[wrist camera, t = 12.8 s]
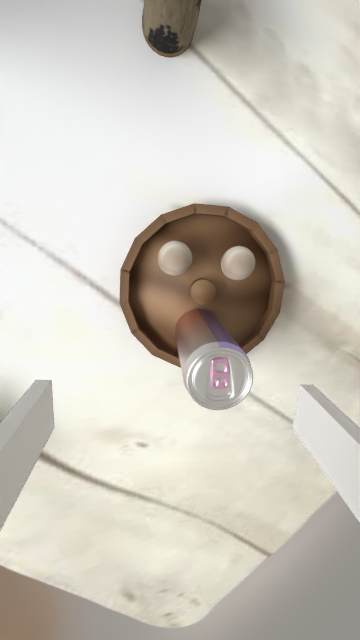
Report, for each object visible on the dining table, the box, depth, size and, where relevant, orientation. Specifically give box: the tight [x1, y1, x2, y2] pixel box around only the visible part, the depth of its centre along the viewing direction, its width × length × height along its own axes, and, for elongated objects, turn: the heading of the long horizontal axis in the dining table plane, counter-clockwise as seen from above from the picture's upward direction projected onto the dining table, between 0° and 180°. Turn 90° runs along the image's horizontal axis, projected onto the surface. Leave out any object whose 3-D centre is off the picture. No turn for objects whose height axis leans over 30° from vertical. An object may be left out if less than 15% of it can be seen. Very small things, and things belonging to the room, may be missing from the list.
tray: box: [120, 204, 285, 367], centre depth 38 cm, size 20×20×3 cm
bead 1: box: [158, 241, 192, 276], centre depth 35 cm, size 4×4×4 cm
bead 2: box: [221, 246, 255, 280], centre depth 36 cm, size 4×4×4 cm
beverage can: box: [175, 309, 253, 410], centre depth 32 cm, size 6×6×15 cm
